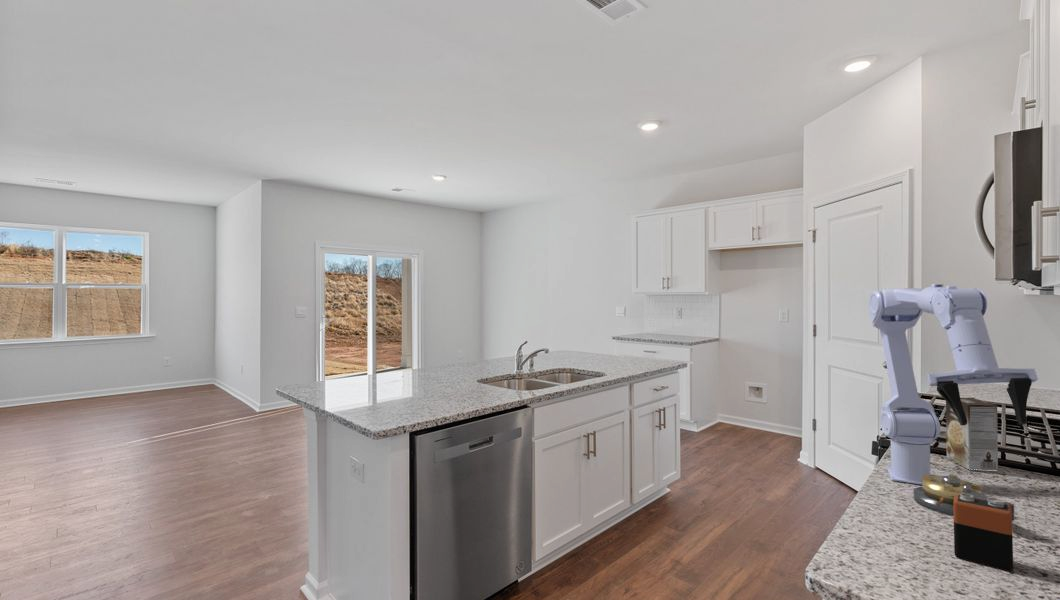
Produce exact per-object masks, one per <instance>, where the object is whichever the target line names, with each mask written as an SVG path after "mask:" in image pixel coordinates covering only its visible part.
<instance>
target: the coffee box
mask: <svg viewBox="0 0 1060 600" xmlns="http://www.w3.org/2000/svg"><path fill="white" fill-rule="evenodd" d="M960 399H961V403H962V406H963V409H964V412H965V415H966V419H967V424H966V425H960V422H959V420H958V418H957V416H956V415H955V413H954V411H953V410H952V408H951V407H950V406H949V404H948V403H947V402H946V401H945V427H946V428H945V429H946V430H945V431H946V432H945V433H946V436H945V437H946V459H947V458H949V459H950V460H952V461H954V462H956V463H958V464H960V465H962V466H964V467H966V468H967V469H970V470H971V469H972V470H974V469H975V470H976V469H977V470H978V469H982V470H997V471H998V472H999V463H998V462H999V460H998V459H999V458H998V457H999V456H998V455H999V451H998V450H999V449H998V446H999V443H998V441H999V440H998V438H999V437H998V405H996V404H994V403H991V402H987V401H985V400H981V399H978V398H975V397H960ZM950 460H949V461H950ZM952 461H951V462H952ZM954 462H953V463H954ZM956 463H955V464H956ZM958 464H957V465H958ZM960 465H959V466H960ZM967 469H966V470H967Z"/></svg>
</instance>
